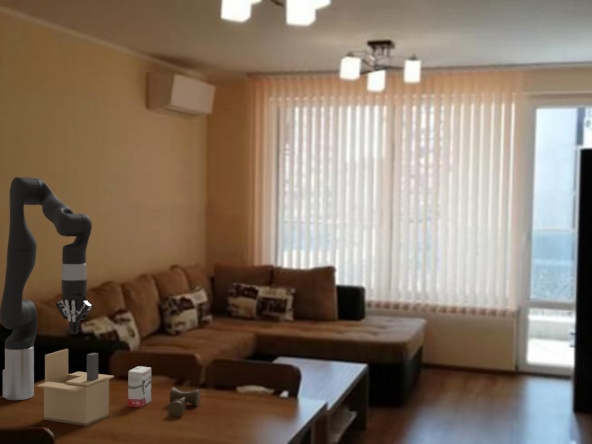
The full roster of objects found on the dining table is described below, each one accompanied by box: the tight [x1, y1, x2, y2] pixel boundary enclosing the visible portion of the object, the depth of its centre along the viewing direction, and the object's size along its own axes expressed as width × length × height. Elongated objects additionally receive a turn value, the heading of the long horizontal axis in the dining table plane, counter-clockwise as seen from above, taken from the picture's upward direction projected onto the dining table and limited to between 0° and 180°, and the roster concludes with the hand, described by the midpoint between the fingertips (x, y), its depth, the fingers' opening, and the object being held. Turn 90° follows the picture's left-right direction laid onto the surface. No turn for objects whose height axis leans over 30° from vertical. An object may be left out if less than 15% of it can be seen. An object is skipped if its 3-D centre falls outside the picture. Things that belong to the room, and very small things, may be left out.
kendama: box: [167, 386, 201, 418], centre depth 239 cm, size 6×10×20 cm
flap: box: [66, 352, 108, 386], centre depth 225 cm, size 8×10×9 cm
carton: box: [36, 348, 115, 427], centre depth 227 cm, size 16×19×20 cm
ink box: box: [127, 365, 152, 408], centre depth 243 cm, size 9×5×12 cm, turn 168°
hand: (74, 333), depth 227 cm, fingers closed
